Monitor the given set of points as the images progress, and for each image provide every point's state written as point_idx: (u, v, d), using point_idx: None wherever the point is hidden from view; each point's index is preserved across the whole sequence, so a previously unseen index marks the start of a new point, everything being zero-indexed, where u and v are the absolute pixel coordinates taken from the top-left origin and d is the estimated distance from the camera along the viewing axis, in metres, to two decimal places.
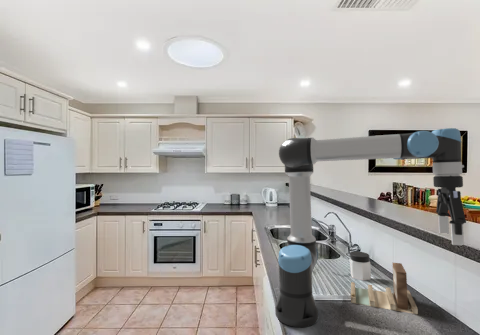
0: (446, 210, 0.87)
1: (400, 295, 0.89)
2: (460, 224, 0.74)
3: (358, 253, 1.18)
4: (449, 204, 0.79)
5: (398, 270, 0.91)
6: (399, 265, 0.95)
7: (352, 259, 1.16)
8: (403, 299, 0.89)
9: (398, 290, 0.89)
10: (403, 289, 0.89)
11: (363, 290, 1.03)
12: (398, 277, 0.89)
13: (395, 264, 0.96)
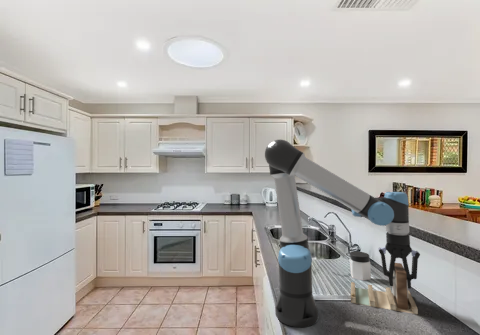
0: None
1: (400, 295, 0.89)
2: (388, 276, 0.95)
3: (358, 253, 1.18)
4: None
5: (398, 270, 0.91)
6: (399, 265, 0.95)
7: (352, 259, 1.16)
8: (403, 299, 0.89)
9: (398, 290, 0.89)
10: (403, 289, 0.89)
11: (363, 290, 1.03)
12: (398, 277, 0.89)
13: (395, 264, 0.96)
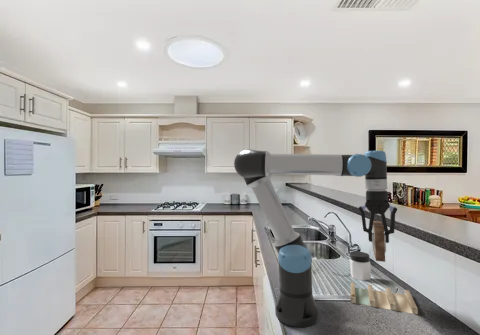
0: None
1: (377, 248, 0.92)
2: None
3: (358, 253, 1.18)
4: (370, 216, 0.98)
5: (376, 225, 0.94)
6: (378, 222, 0.98)
7: (352, 259, 1.16)
8: (381, 252, 0.92)
9: (376, 243, 0.92)
10: (381, 242, 0.92)
11: (363, 290, 1.03)
12: (376, 231, 0.92)
13: (375, 221, 1.00)
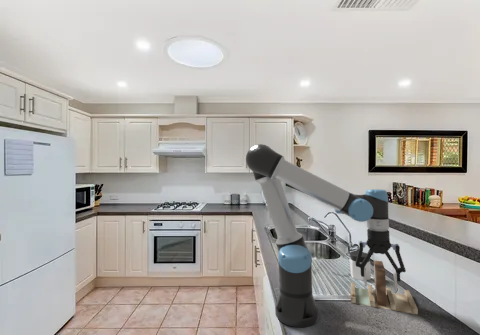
0: (392, 265, 0.94)
1: (379, 292, 0.92)
2: None
3: None
4: (368, 252, 0.99)
5: (378, 268, 0.93)
6: (379, 263, 0.98)
7: (352, 259, 1.16)
8: (382, 296, 0.91)
9: (377, 287, 0.92)
10: (382, 286, 0.91)
11: (363, 290, 1.03)
12: (377, 274, 0.92)
13: (376, 262, 0.99)
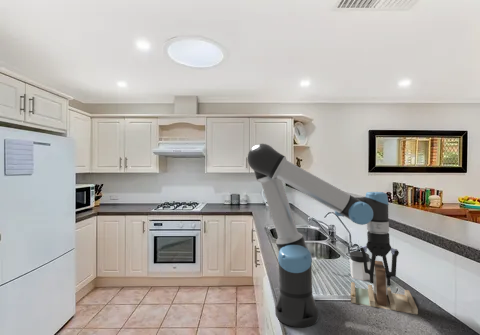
0: (385, 268, 0.95)
1: (379, 292, 0.92)
2: None
3: (358, 253, 1.18)
4: (371, 257, 0.98)
5: (378, 268, 0.93)
6: (380, 263, 0.98)
7: (352, 259, 1.16)
8: (382, 296, 0.91)
9: (377, 287, 0.92)
10: (382, 286, 0.91)
11: (363, 290, 1.03)
12: (377, 274, 0.92)
13: (376, 262, 0.99)
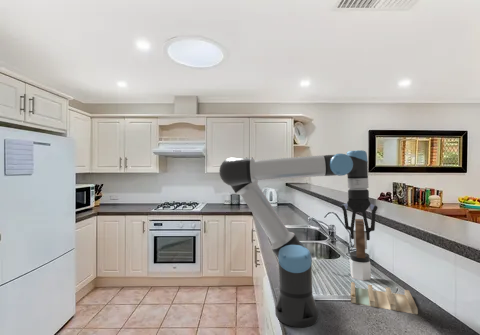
0: None
1: (358, 245, 0.95)
2: None
3: None
4: None
5: (357, 222, 0.96)
6: (360, 220, 1.01)
7: (352, 259, 1.16)
8: (361, 249, 0.94)
9: (357, 240, 0.95)
10: (361, 239, 0.94)
11: (363, 290, 1.03)
12: (357, 228, 0.95)
13: (357, 219, 1.02)
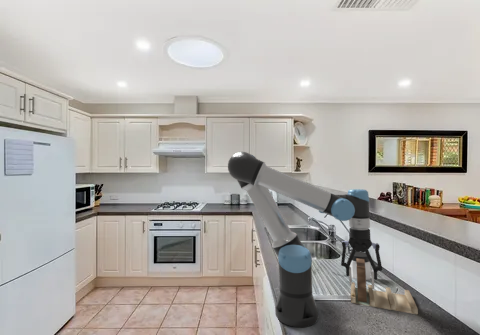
0: (370, 263, 0.97)
1: (359, 289, 0.94)
2: None
3: (358, 253, 1.18)
4: (351, 251, 1.01)
5: (359, 265, 0.96)
6: (361, 261, 1.01)
7: (352, 259, 1.16)
8: (362, 292, 0.94)
9: (358, 284, 0.95)
10: (362, 283, 0.94)
11: None
12: (358, 272, 0.95)
13: (358, 260, 1.02)
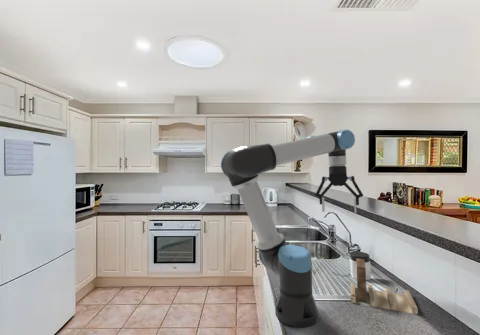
0: None
1: (359, 289, 0.94)
2: (319, 197, 1.17)
3: (358, 253, 1.18)
4: None
5: (359, 265, 0.96)
6: (361, 261, 1.01)
7: (352, 259, 1.16)
8: (362, 292, 0.94)
9: (358, 284, 0.95)
10: (362, 283, 0.94)
11: None
12: (358, 272, 0.95)
13: (358, 260, 1.02)
